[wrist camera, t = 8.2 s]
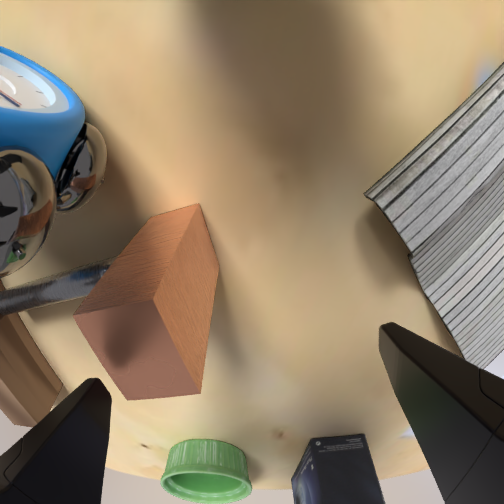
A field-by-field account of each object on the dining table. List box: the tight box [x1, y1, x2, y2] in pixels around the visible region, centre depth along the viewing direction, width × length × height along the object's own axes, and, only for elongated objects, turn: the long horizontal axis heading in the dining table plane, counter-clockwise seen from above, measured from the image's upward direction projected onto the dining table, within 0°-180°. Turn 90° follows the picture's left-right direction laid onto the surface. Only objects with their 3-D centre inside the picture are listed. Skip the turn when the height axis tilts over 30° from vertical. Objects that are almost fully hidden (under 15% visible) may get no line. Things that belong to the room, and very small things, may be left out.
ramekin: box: [161, 439, 252, 504], centre depth 26 cm, size 9×9×4 cm
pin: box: [0, 204, 219, 400], centre depth 15 cm, size 16×4×10 cm, turn 104°
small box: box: [291, 434, 385, 504], centre depth 25 cm, size 11×6×10 cm, turn 175°
